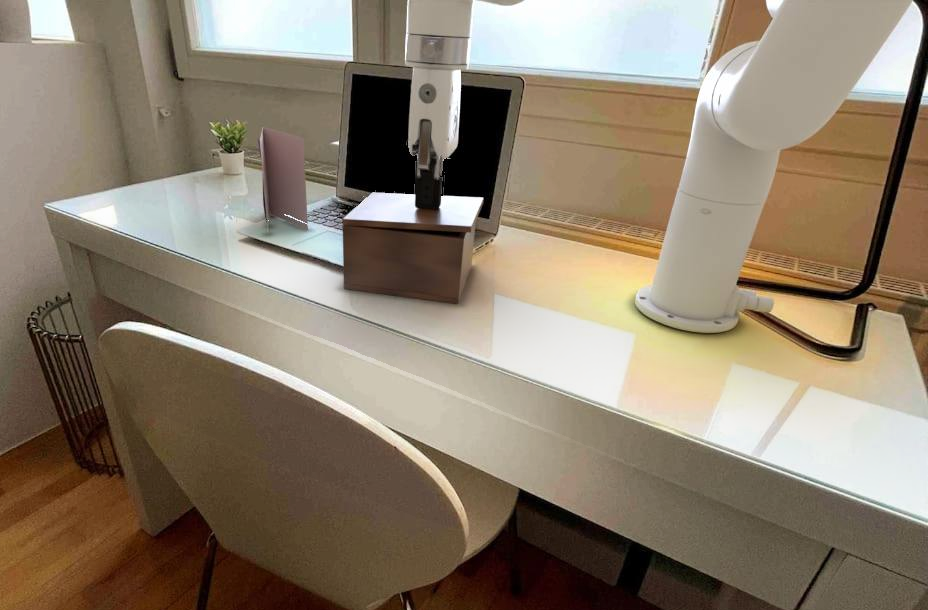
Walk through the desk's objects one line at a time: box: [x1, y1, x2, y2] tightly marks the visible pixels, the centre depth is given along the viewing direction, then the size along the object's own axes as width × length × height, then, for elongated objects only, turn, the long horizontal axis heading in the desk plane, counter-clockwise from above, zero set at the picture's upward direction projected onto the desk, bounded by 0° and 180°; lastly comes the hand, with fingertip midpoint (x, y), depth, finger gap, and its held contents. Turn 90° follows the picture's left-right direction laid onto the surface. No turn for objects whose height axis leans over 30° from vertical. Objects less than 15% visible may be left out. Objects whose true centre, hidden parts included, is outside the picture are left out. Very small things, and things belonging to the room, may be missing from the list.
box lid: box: [341, 191, 484, 233], centre depth 76 cm, size 16×14×1 cm
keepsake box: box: [342, 221, 477, 305], centre depth 79 cm, size 16×14×9 cm
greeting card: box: [257, 126, 309, 233], centre depth 95 cm, size 11×7×15 cm, turn 11°
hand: (427, 207), depth 75 cm, fingers closed
